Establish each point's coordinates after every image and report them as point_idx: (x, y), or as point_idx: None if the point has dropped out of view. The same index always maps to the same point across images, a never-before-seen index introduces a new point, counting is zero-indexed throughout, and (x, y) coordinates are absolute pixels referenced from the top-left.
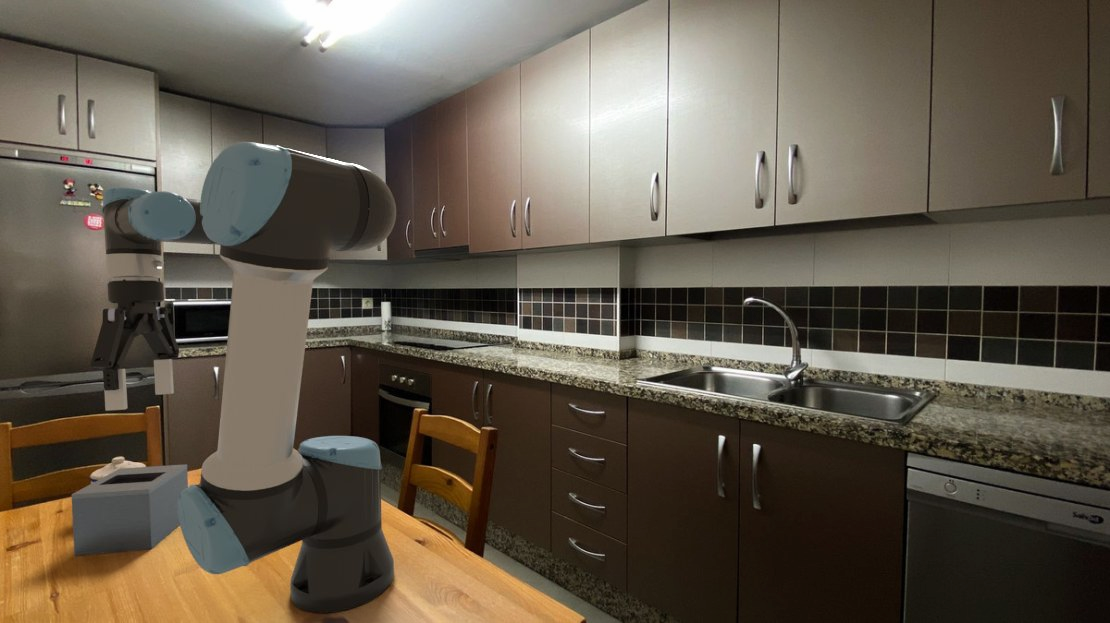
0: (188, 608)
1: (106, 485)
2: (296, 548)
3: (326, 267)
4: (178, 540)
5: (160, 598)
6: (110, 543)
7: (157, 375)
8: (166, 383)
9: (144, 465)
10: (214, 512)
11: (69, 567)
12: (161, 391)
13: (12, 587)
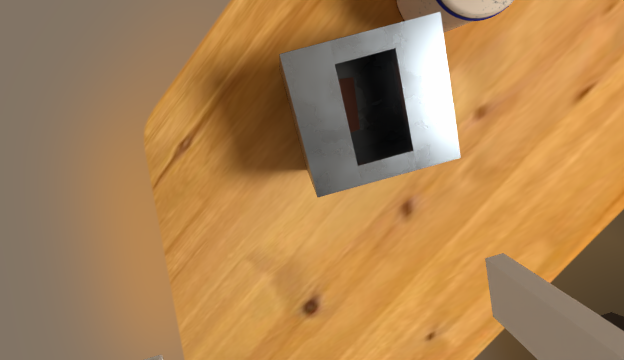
0: (186, 322)
1: (332, 86)
2: (320, 352)
3: None
4: None
5: (198, 279)
6: (293, 117)
7: (566, 328)
8: (529, 332)
9: (509, 2)
10: None
11: (248, 93)
12: (496, 289)
13: (190, 62)
